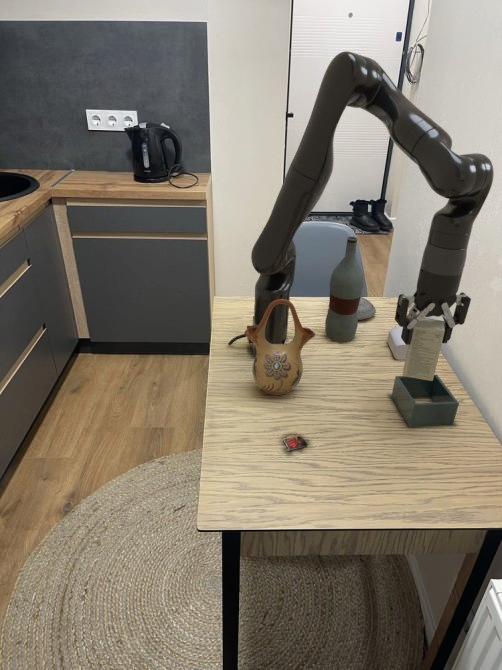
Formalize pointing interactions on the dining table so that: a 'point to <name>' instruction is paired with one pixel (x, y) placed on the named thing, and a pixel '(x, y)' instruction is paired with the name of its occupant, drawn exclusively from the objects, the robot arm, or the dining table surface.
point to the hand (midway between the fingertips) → (424, 342)
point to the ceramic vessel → (278, 355)
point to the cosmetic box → (424, 349)
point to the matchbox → (294, 442)
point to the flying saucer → (365, 309)
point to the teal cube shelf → (424, 412)
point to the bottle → (344, 296)
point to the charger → (397, 343)
